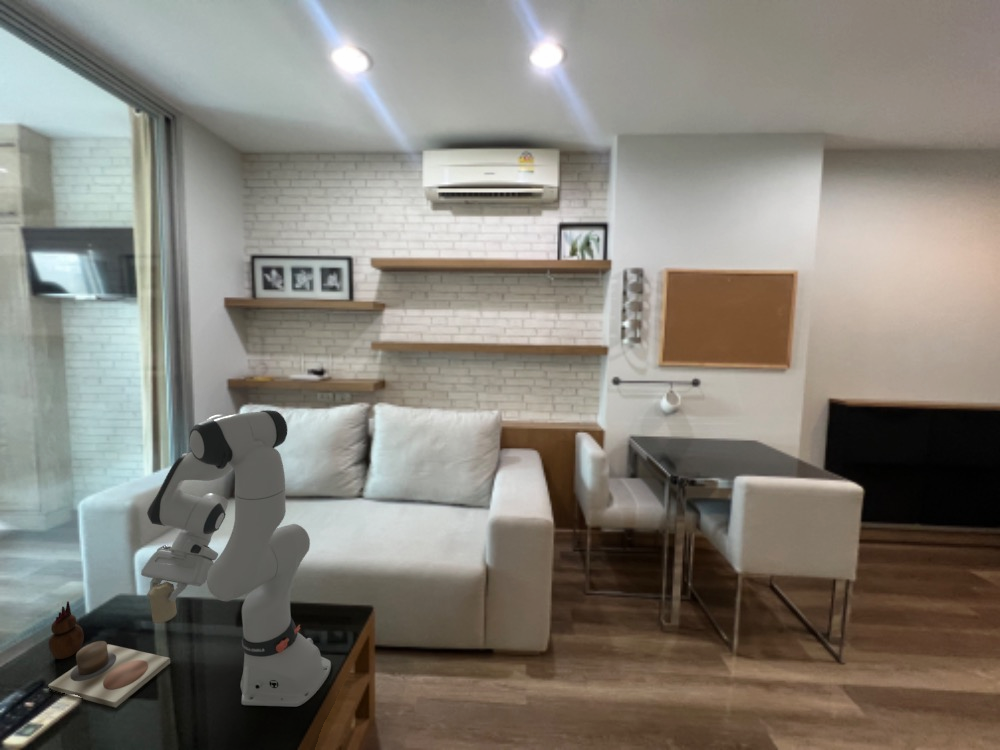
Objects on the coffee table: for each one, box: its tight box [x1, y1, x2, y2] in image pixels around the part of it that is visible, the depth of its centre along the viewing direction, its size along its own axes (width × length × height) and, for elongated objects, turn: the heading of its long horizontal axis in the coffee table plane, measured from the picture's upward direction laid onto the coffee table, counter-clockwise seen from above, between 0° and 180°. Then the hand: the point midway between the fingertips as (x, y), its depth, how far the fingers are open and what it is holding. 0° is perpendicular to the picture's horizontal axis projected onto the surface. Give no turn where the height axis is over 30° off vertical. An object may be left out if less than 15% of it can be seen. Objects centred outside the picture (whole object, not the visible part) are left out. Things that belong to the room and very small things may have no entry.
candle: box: [148, 581, 178, 624], centre depth 122 cm, size 6×6×10 cm
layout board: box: [47, 640, 171, 708], centre depth 114 cm, size 22×14×7 cm, turn 78°
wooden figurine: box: [48, 601, 85, 660], centre depth 121 cm, size 7×6×15 cm
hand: (160, 598), depth 121 cm, fingers closed on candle, 5 cm apart
